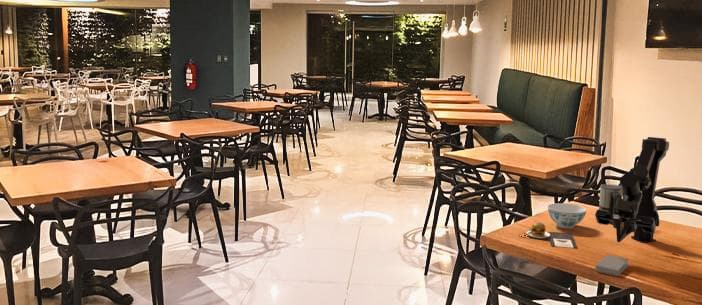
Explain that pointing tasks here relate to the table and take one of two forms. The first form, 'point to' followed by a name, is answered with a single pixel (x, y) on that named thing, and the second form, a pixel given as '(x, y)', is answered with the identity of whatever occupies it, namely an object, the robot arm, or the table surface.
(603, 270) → the ceramic tile
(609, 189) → the milk frother
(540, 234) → the hamburger
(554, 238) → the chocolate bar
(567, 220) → the chinaware
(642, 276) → the table surface
